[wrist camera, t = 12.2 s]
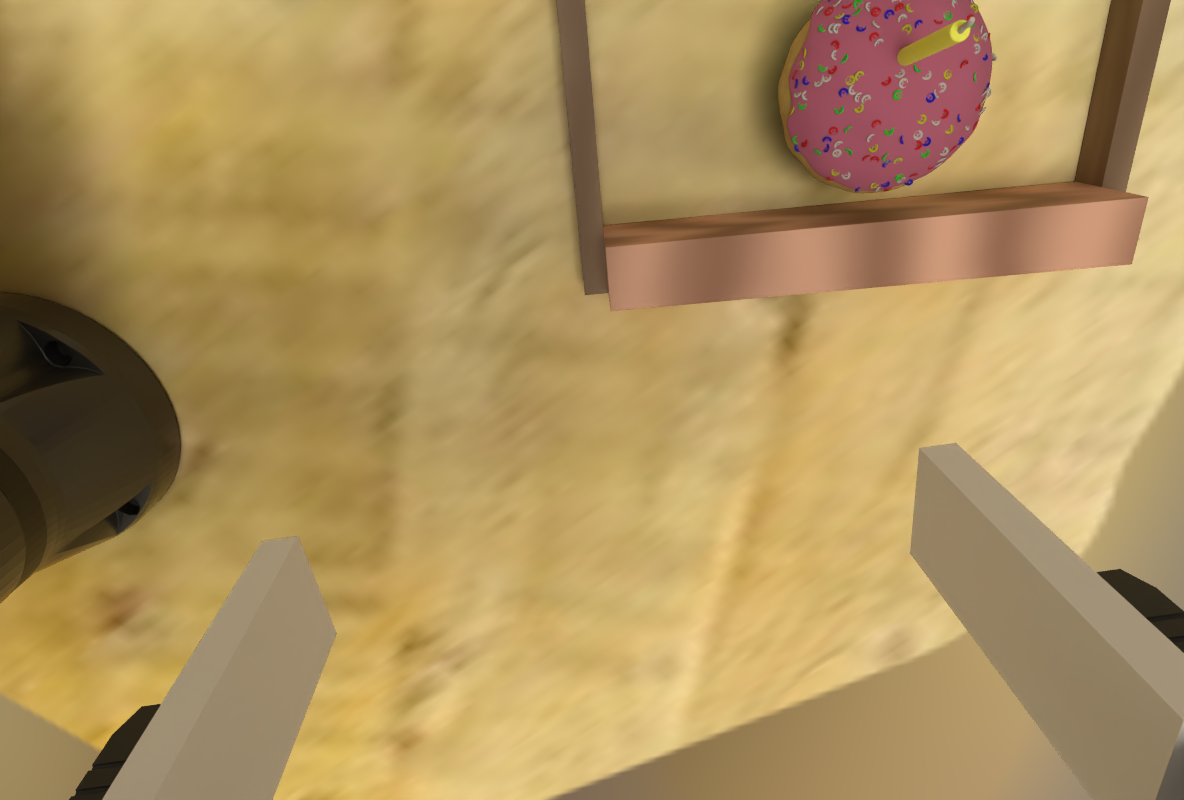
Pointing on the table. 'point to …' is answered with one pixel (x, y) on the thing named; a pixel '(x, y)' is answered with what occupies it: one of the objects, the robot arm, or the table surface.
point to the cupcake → (884, 89)
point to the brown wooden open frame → (877, 207)
